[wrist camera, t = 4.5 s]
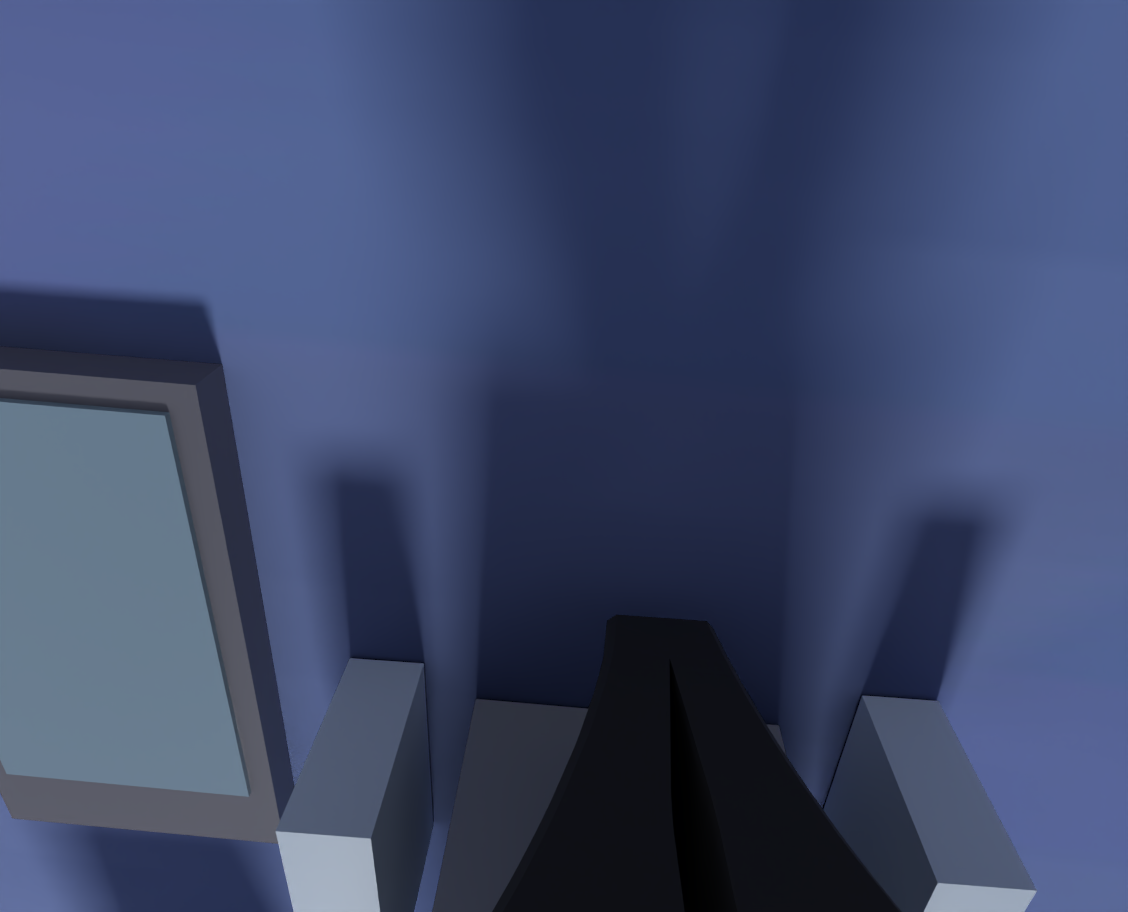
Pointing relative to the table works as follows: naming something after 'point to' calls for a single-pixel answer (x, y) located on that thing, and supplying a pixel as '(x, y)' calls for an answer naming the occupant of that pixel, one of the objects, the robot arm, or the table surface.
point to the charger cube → (505, 796)
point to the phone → (131, 603)
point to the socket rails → (854, 805)
